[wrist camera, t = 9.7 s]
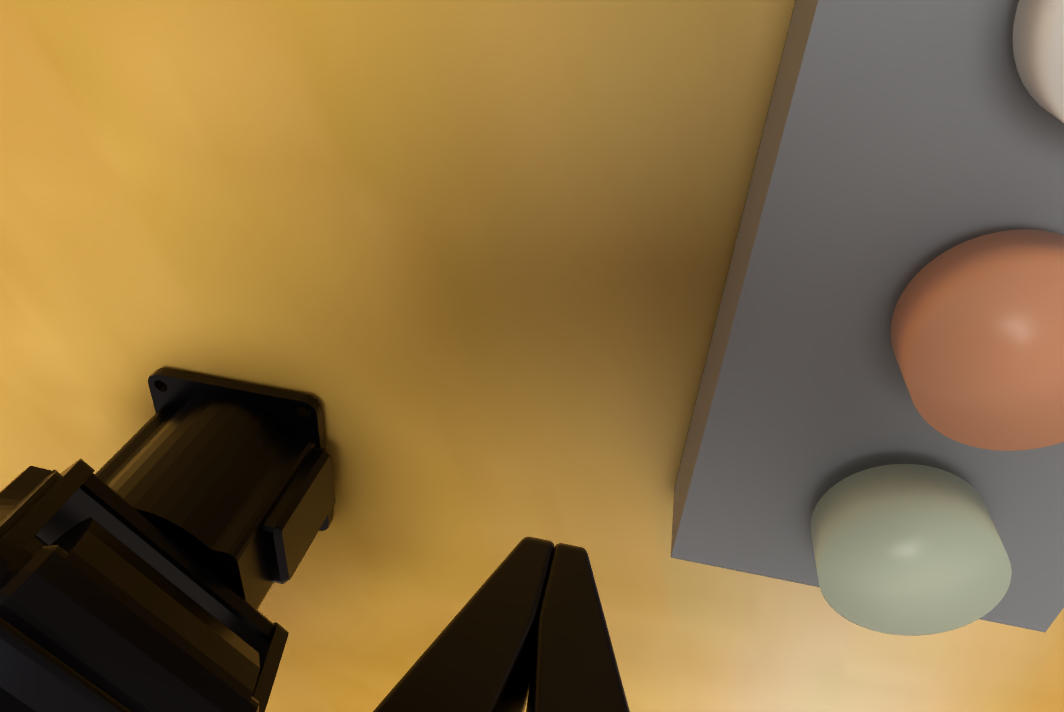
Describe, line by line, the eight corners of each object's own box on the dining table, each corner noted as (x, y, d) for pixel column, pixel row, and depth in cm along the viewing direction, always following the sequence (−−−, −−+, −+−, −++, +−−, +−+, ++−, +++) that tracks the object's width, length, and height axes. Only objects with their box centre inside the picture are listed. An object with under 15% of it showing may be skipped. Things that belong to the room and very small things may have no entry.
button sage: (791, 564, 22) (797, 615, 20) (838, 450, 19) (848, 498, 18) (950, 595, 21) (968, 650, 20) (1018, 482, 19) (1045, 534, 17)
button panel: (674, 487, 26) (670, 557, 23) (858, -252, 15) (891, -277, 12) (1009, 550, 25) (1045, 632, 22) (1488, -207, 13) (1676, -223, 11)
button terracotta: (864, 384, 18) (878, 430, 17) (932, 214, 16) (955, 251, 14) (1057, 416, 18) (1089, 467, 16) (1159, 247, 15) (1208, 288, 14)
